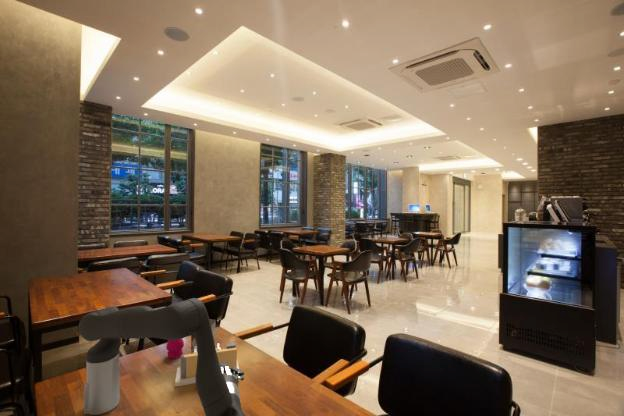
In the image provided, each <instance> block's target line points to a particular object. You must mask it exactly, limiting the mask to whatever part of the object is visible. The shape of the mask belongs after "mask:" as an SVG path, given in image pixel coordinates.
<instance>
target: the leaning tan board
mask: <svg viewBox="0 0 624 416" xmlns="http://www.w3.org/2000/svg"><path fill="white" fill-rule="evenodd" d="M216 352H217V356H218V360H219V364H221V362H224V361H226V363H228V367H229V368H230V367H232V366H233V367H235V368H237V361H238V349H237V346H236V347H234V348H227V349H226V348H221V350H216ZM197 357H198V353H193V354H191V353H188V354H182V355H181V356H180V363H179V364H180V366H179V367H180V377H181V378H186V377H191V376H196V367H197Z"/></svg>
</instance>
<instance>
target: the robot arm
mask: <svg viewBox="0 0 624 416" xmlns="http://www.w3.org/2000/svg"><path fill="white" fill-rule="evenodd" d="M209 319H210V317H209V314H208V311H207V308H206V305H205V304H204V302H203V301H202V300H200V299H199V298H196V297H192V298H189V299H185V300H182V301H179V302H176V303H172V304H169V305H168V306H164V307H162V308H157V309H154V308H153V307H151V306H147V305H136V306H135V305H134V306H131V307H130V306H129V307H126V308H122V309H119V308H118V307H115V306H109V307H105V308H102V309H98V310H94V311H91V312H88V313H86V314H85V315H84V316H82V318H81V319H80V321H79V324H78V333H79V334H80V336H81V337H82V338H83V340H86V341H89V342H95V341H98V342H96V343H95V344H94V345H93V346H91V347H90V348H89V349H88V350H87V352H86V361H85V362H86V365H85V366H86V367H85V368H86V383H85V384H84V385H83V391H84V392H83V395H84V396H83V399H84V400H83V402H84V404H83V405H84V406H83V407H84V408H83V409H84V410H83V411H84V412H83V414H84V415H91V416H98V415H103V414H106V413H108V412H110V411H112V410H114V409H115V408H116V407H117V406H118V405H119V404H120V349H121V345H122V339H125V340H126V339H127V340H128V339H129V340H131V339H132V340H133V339H134V340H135V339H148V338H155V339H160V340H161V339H162V340H178V339H181V338H182V339H184V338H185V337H188V336H191V334H193V335H194V337H195V340H196V343H197V350H198V357H197V367H196V383H195V388H196V392H197V396H198V398H199V401H200V403H201V406H202V409H203V412H204V414H205V415H204V416H246V414H245V413H244V412H243V409H242V404H241V393H240V392H241V391H240V388H239V383H240V382H239V381H244V380H245V371H244V370H242V369H240V368H239V369H238V368H235V367H233V366H232V367H230V368H229V367H228V363H226V361H224V362H221V364H219V360H218V356H217V352H216V348H217V346H216V341H215V342H214V338H213V334H212V329H211V325H210V320H209ZM234 371H235V373H234Z"/></svg>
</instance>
